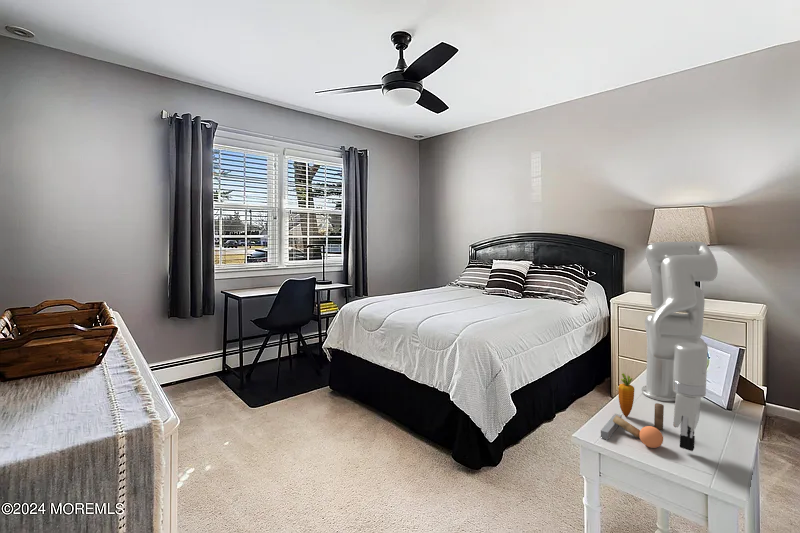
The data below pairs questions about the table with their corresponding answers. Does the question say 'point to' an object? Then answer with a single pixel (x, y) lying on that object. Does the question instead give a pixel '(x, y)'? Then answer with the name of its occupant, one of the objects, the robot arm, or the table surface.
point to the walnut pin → (659, 416)
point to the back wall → (609, 428)
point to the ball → (651, 436)
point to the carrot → (626, 395)
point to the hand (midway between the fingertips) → (686, 448)
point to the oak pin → (626, 426)
